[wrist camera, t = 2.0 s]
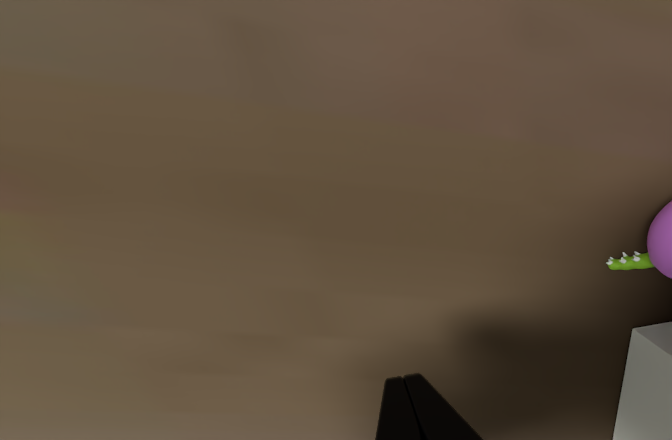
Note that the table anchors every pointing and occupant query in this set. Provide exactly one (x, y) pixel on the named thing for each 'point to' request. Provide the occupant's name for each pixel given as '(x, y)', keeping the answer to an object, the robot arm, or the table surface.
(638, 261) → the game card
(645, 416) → the slab
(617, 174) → the table surface
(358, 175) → the table surface
